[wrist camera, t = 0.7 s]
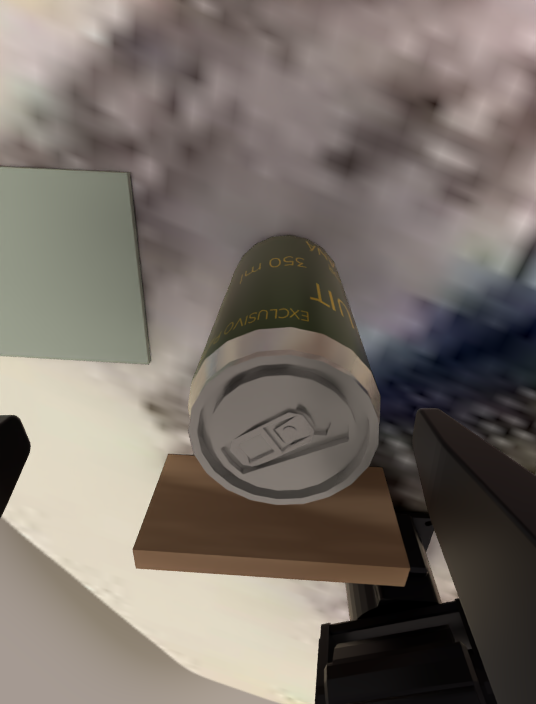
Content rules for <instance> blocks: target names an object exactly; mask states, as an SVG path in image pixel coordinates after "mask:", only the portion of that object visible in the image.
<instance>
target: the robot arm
mask: <svg viewBox="0 0 536 704" xmlns="http://www.w3.org/2000/svg"><path fill="white" fill-rule="evenodd" d="M412 443H413V450H414V455H415V459H416V463H417V467H418V472H419V476H420V480H421V484H422V489H423V493H424V497H425V501H426V505H427V509H428V513H429V514H424V513H409V512H395V515H396V518H397V522H398V526H399V529H400V533H401V536H402V540H403V544H404V547H405V551H406V554H407V558H408V562H409V565H410V571H409V574H408V577H407V580H406V583H405V586H404V587H402V586H387V585H373V584H358V583H345V584H346V592H347V600H348V608H349V616H350V621H346V622H341V623H335V624H330V623H326V624H322V625H321V636H320V639H319V648H318V663H317V678H316V694H315V704H536V476H535V475H534V474H533V473H531V472H530V471H528V470H527V469H525V468H524V467H522V466H521V465H520V464H518V463H517V462H515V461H514V460H512V459H511V458H509V457H508V456H506V455H505V454H504V453H502V452H501V451H499V450H498V449H496V448H495V447H493V446H492V445H490V444H489V443H488V442H486V441H485V440H483V439H482V438H480V437H479V436H477V435H476V434H474V433H473V432H472V431H470V430H469V429H467V428H466V427H464V426H463V425H461V424H460V423H459V422H457V421H456V420H454V419H453V418H451V417H450V416H448V415H447V414H445V413H444V412H443V411H441V410H439V409H437V408H421V409H419V410H418V411H417V413H416V418H415V425H414V431H413V438H412ZM30 447H31V446H30V441H29V439H28V436H27V434H26V432H25V429H24V427H23V424H22V422H21V420H20V419H19V418H18V417H17V416H15V415H0V518H1V516H2V514H3V512H4V510H5V508H6V506H7V503H8V501H9V499H10V497H11V494H12V492H13V490H14V488H15V485H16V483H17V481H18V478H19V476H20V474H21V472H22V469H23V467H24V465H25V462H26V460H27V458H28V456H29V453H30ZM434 530H435V533H436V536H437V538H438V541H439V544H440V547H441V549H442V552H443V555H444V558H445V560H446V563H447V566H448V569H449V571H450V574H451V577H452V580H453V582H454V585H455V588H456V591H457V593H458V596H459V598H458V599H455V601H452V602H446V603H442V602H441V599H440V595H439V592H438V589H437V586H436V583H435V580H434V577H433V574H432V571H431V568H430V565H429V561H428V558H427V555H426V551H427V548H428V545H429V543H430V540H431V537H432V534H433V531H434Z"/></svg>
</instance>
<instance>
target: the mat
mask: <svg viewBox="0 0 536 704" xmlns="http://www.w3.org/2000/svg"><path fill="white" fill-rule="evenodd" d="M0 356H9V357H27V358H44V359H61V360H78V361H96V362H113V363H130V364H148V365H149V363H150V361H151V360H150V351H149V342H148V333H147V324H146V315H145V306H144V297H143V288H142V278H141V269H140V260H139V251H138V242H137V233H136V224H135V215H134V205H133V196H132V187H131V178H130V172H111V171H90V170H70V169H49V168H28V167H8V166H0Z"/></svg>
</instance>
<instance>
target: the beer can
mask: <svg viewBox="0 0 536 704" xmlns="http://www.w3.org/2000/svg"><path fill="white" fill-rule="evenodd" d="M188 411H189V416H190V422H189V428H188V433H189V437H190V441H191V445H192V449H193V453H194V455H195V457H196V458H197V460H198V461H199V463H200V464H201V466H202V467H203V469H204V470H205V471H206V473H207V474H208V475H209V476H210V477H212V478H213V479H214V480H215V481H217V482H218V483H219V484H220V485H222V486H223V487H224V488H225V489H227V490H229V491H231V492H234V493H236V494H238V495H240V496H243V497H245V498H247V499H249V500H253V501H258V502H264V503H269V504H275V505H288V504H305V503H309V502H313V501H316V500H320V499H324V498H327V497H330V496H332V495H334V494H335V493H337V492H339V491H341V490H342V489H344V488H346V487H348V486H349V485H351V484H352V483H353V482H354V481H355V480H356V479H357V478H358V477H359V476H360V475H361V474H362V473H363V472H364V471H365V470H366V469H367V468H368V467H369V465H370V462H371V460H372V458H373V456H374V453H375V451H376V449H377V447H378V436H379V421H380V394H379V391H378V388H377V385H376V382H375V379H374V376H373V373H372V370H371V367H370V364H369V362H368V359H367V356H366V353H365V350H364V347H363V344H362V341H361V338H360V335H359V332H358V330H357V327H356V324H355V321H354V318H353V315H352V312H351V309H350V306H349V303H348V301H347V298H346V295H345V292H344V289H343V286H342V283H341V280H340V277H339V275H338V272H337V269H336V267H335V264H334V261H333V260H332V259H331V258H330V257H329V255H328V254H327V253H326V252H325V251H324V249H323V248H321V247H320V246H318V245H316V244H315V243H313V242H311V241H310V240H308V239H305V238H300V237H296V236H292V235H287V236H276V237H271V238H269V239H266V240H264V241H262V242H259V243H257V244H255V245H254V246H253V247H252V248H251V249H250V250H249V251H248V252H247V253H246V254H244V255H243V257H242V259H241V260H240V262H239V264H238V266H237V268H236V269H235V272H234V274H233V277H232V279H231V282H230V284H229V287H228V290H227V292H226V295H225V297H224V300H223V302H222V305H221V308H220V310H219V313H218V315H217V318H216V320H215V323H214V326H213V328H212V331H211V333H210V336H209V339H208V341H207V344H206V346H205V349H204V351H203V354H202V357H201V359H200V362H199V364H198V367H197V369H196V372H195V375H194V377H193V380H192V382H191V388H190V395H189V402H188Z"/></svg>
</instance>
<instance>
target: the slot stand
mask: <svg viewBox="0 0 536 704" xmlns="http://www.w3.org/2000/svg"><path fill="white" fill-rule="evenodd" d="M133 555H134V560H135V566H136V568H138V569H153V570H167V571H182V572H197V573H211V574H226V575H241V576H255V577H270V578H285V579H299V580H314V581H329V582H343V583H358V584H373V585H387V586H402V587H404V586H405V583H406V580H407V577H408V574H409V571H410V565H409V562H408V558H407V554H406V551H405V547H404V544H403V540H402V536H401V533H400V529H399V526H398V522H397V518H396V515H395V511H394V508H393V504H392V500H391V497H390V493H389V490H388V486H387V482H386V479H385V475H384V472H383V468H382V467H368V468H367V469H366V470H365V471H364V472H363V473H362V474H361V475H360V476H359V477H358V478H357V479H356V480H355V481H354V482H353V483H352V484H351V485H349V486H348V487H346V488H344V489H342V490H341V491H339V492H337V493H335V494H334V495H332V496H330V497H327V498H324V499H320V500H316V501H313V502H309V503H305V504H288V505H275V504H269V503H264V502H258V501H253V500H249V499H247V498H245V497H243V496H240V495H238V494H236V493H234V492H231V491H229V490H227V489H225V488H224V487H223V486H222V485H220V484H219V483H218V482H217V481H215V480H214V479H213V478H212V477H210V476H209V475H208V474H207V473H206V471H205V470H204V469H203V467H202V466H201V464H200V463H199V461H198V460H197V458H196V457H195V456H190V455H174V454H168V456H167V459H166V462H165V464H164V467H163V470H162V472H161V475H160V478H159V480H158V483H157V486H156V488H155V491H154V494H153V496H152V499H151V502H150V504H149V507H148V510H147V512H146V515H145V518H144V520H143V523H142V526H141V529H140V531H139V534H138V537H137V539H136V542H135V545H134V547H133Z"/></svg>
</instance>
